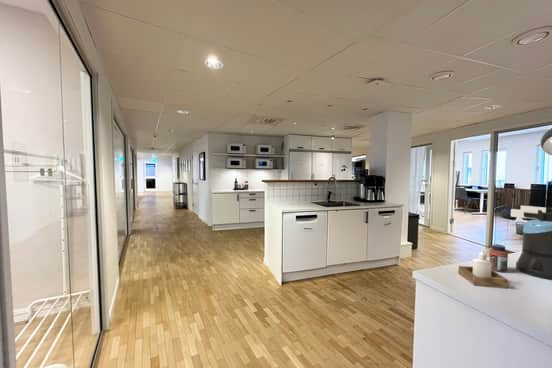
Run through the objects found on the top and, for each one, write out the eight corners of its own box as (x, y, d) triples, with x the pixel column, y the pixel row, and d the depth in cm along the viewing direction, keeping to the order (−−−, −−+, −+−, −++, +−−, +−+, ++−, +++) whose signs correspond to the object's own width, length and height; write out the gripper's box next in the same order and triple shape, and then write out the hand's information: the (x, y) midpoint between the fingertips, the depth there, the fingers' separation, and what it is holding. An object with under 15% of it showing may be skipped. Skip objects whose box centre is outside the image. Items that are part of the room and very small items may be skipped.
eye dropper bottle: (489, 283, 92) (490, 253, 91) (471, 278, 96) (472, 249, 96) (491, 279, 95) (492, 251, 94) (474, 275, 99) (475, 247, 98)
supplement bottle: (485, 266, 109) (486, 243, 108) (500, 267, 108) (501, 243, 107) (494, 272, 103) (496, 247, 102) (510, 273, 102) (512, 248, 101)
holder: (487, 275, 100) (487, 267, 99) (507, 288, 89) (507, 279, 89) (458, 273, 102) (458, 265, 102) (474, 285, 91) (474, 276, 91)
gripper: (613, 239, 63) (506, 225, 81) (616, 226, 77) (523, 216, 95) (615, 212, 63) (507, 203, 81) (617, 204, 76) (524, 198, 94)
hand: (516, 210), depth 88 cm, fingers open, 13 cm apart
